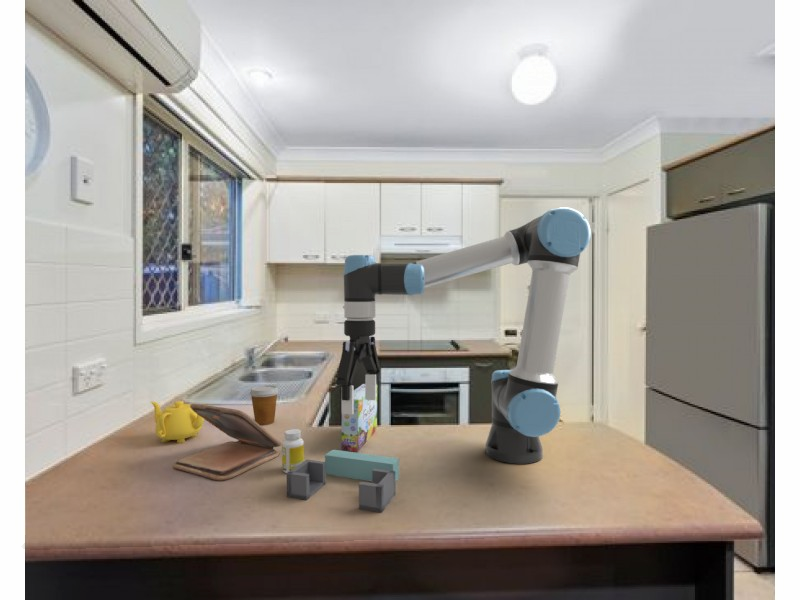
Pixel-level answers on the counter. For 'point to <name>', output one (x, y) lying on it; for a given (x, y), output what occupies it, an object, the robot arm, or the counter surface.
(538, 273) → the robot arm
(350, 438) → the snack box
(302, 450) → the supplement bottle
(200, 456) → the case
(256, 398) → the disposable coffee cup
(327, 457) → the teal rectangular bar
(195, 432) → the teapot
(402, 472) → the counter surface
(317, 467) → the end cap far
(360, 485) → the end cap near
